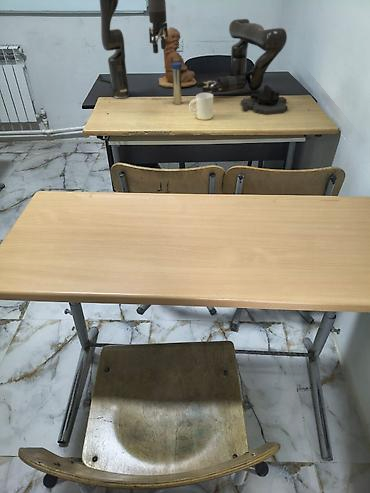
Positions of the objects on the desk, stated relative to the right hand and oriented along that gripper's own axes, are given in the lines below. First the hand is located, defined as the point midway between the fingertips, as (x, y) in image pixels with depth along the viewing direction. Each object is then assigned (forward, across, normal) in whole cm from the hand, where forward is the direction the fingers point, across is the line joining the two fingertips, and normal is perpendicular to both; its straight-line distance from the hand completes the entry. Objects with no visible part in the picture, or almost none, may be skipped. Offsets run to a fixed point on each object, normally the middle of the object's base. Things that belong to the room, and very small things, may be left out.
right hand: (199, 87), depth 193 cm
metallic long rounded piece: (+13, -1, +7) cm, 14 cm away
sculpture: (0, -37, +7) cm, 37 cm away
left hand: (+24, +10, -22) cm, 34 cm away
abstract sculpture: (-27, +25, +6) cm, 37 cm away
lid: (+13, -1, -13) cm, 18 cm away
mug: (+9, +24, +6) cm, 27 cm away
